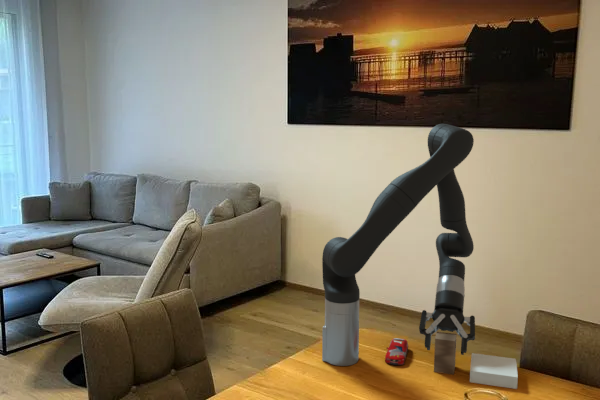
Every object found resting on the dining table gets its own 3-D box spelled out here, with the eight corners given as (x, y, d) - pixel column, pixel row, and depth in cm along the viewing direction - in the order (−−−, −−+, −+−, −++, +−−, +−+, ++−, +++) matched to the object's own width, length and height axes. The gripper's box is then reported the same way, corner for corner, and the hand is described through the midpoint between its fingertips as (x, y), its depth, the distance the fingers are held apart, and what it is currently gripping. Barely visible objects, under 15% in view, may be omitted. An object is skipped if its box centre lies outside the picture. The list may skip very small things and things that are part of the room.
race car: (403, 368, 146) (404, 354, 145) (383, 365, 148) (383, 351, 147) (410, 348, 158) (410, 335, 158) (391, 346, 160) (391, 333, 159)
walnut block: (433, 371, 143) (435, 338, 142) (435, 363, 148) (436, 331, 147) (453, 374, 142) (455, 341, 141) (455, 366, 147) (456, 333, 145)
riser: (469, 382, 138) (470, 370, 137) (471, 363, 148) (471, 353, 148) (517, 389, 134) (517, 377, 134) (515, 369, 145) (516, 358, 144)
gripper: (422, 286, 152) (416, 342, 143) (477, 291, 147) (474, 349, 138) (424, 299, 158) (418, 353, 149) (476, 304, 153) (473, 360, 144)
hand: (445, 351), depth 144 cm, fingers open, 8 cm apart
